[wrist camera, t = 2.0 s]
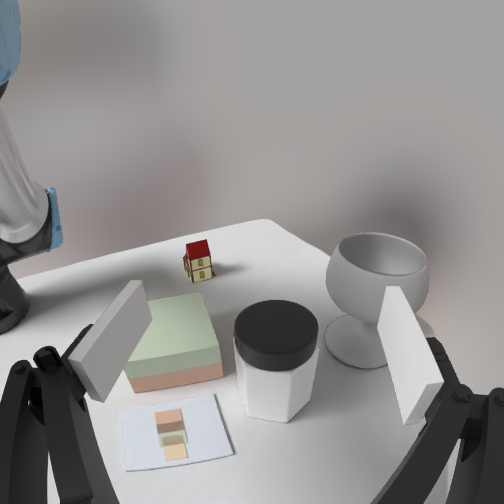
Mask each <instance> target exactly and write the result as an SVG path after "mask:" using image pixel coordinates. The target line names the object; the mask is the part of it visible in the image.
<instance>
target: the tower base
mask: <svg viewBox="0 0 504 504" xmlns="http://www.w3.org/2000/svg"><path fill="white" fill-rule="evenodd" d="M148 305H149V308H150V312H151V316H152V319H153V320H152V322H151V323H150V325H149V326H148V328H147V330H146V331H145V333H144V335H143V336H142V338H141V340H140V341H139V343H138V345H137V346H136V348H135V350H134V351H133V353H132V355H131V356H130V358H129V360H128V362H127V363H126V365H125V367H124V368H123V369H124V371H125V373H126V376H127V378H128V380H129V382H130V384H131V386H132V388H133V390H134V392H135V393H140V392H147V391H154V390H160V389H166V388H172V387H177V386H183V385H188V384H193V383H198V382H203V381H208V380H213V379H217V378H222V377H224V375H223V368H222V361H221V354H220V347H219V343H218V340H217V337H216V334H215V332H214V329H213V326H212V323H211V320H210V317H209V314H208V311H207V308H206V305H205V302H204V299H203V296H202V293H201V291H199V292H194V293H188V294H183V295H177V296H172V297H166V298H160V299H155V300H149V301H148Z"/></svg>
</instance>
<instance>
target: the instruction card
mask: <svg viewBox="0 0 504 504" xmlns="http://www.w3.org/2000/svg"><path fill="white" fill-rule="evenodd" d="M121 426H122V441H123V453H124V463H125V471H126V472H128V471H140V470H150V469H159V468H166V467H174V466H180V465H186V464H192V463H197V462H203V461H208V460H213V459H217V458H222V457H226V456H230V455H233V452H232V449H231V446H230V443H229V441H228V438H227V435H226V432H225V429H224V426H223V423H222V420H221V417H220V414H219V411H218V408H217V404H216V401H215V398H214V395H213V393H212V394H207V395H203V396H198V397H193V398H188V399H182V400H177V401H171V402H165V403H159V404H152V405H145V406H138V407H130V408H122V409H121Z"/></svg>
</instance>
